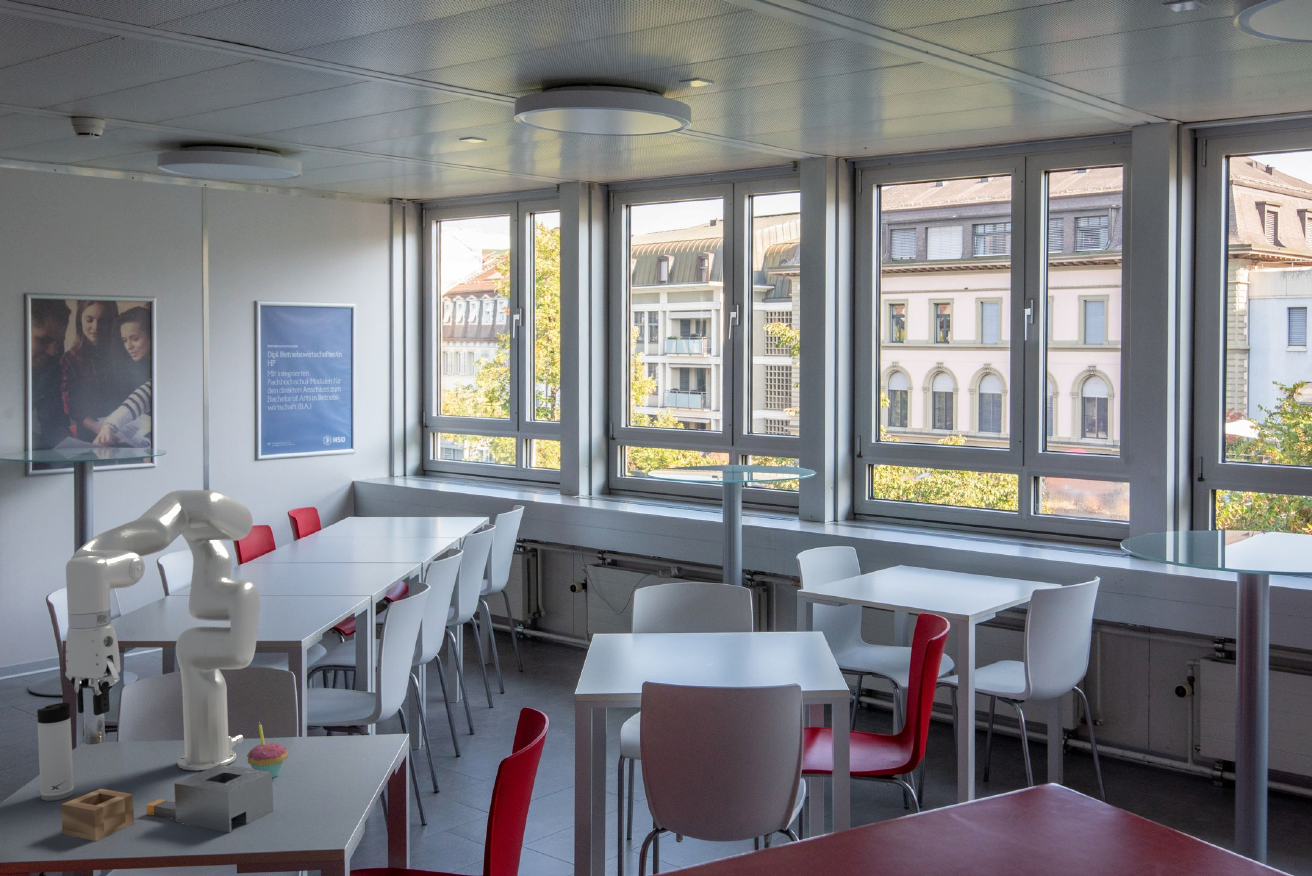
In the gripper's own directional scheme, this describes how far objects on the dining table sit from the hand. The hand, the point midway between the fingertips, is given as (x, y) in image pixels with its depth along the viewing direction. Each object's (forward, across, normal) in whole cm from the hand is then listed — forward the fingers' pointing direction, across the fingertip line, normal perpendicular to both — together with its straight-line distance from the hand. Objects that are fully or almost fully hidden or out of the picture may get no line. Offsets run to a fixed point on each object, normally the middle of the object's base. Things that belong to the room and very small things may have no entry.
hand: (93, 711), depth 220 cm
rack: (+24, 0, 0) cm, 24 cm away
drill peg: (+6, 0, 0) cm, 6 cm away
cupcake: (+24, -10, -36) cm, 44 cm away
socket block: (+24, -19, -14) cm, 33 cm away
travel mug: (+24, +24, -10) cm, 35 cm away
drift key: (+24, -11, -10) cm, 28 cm away
